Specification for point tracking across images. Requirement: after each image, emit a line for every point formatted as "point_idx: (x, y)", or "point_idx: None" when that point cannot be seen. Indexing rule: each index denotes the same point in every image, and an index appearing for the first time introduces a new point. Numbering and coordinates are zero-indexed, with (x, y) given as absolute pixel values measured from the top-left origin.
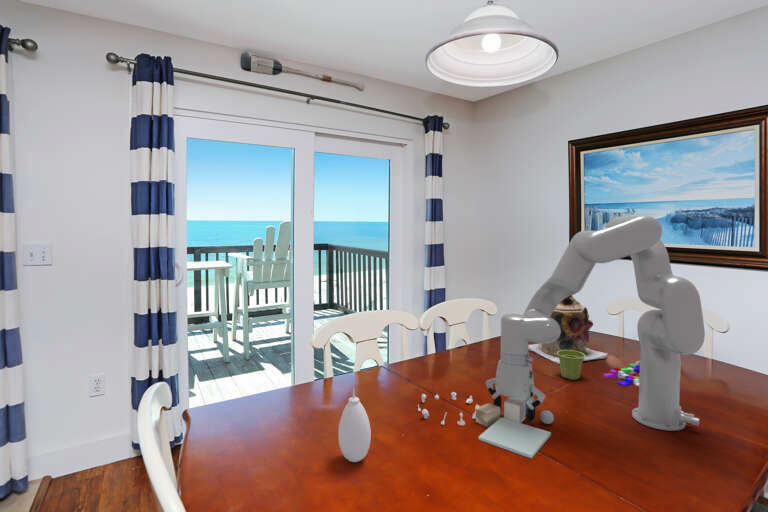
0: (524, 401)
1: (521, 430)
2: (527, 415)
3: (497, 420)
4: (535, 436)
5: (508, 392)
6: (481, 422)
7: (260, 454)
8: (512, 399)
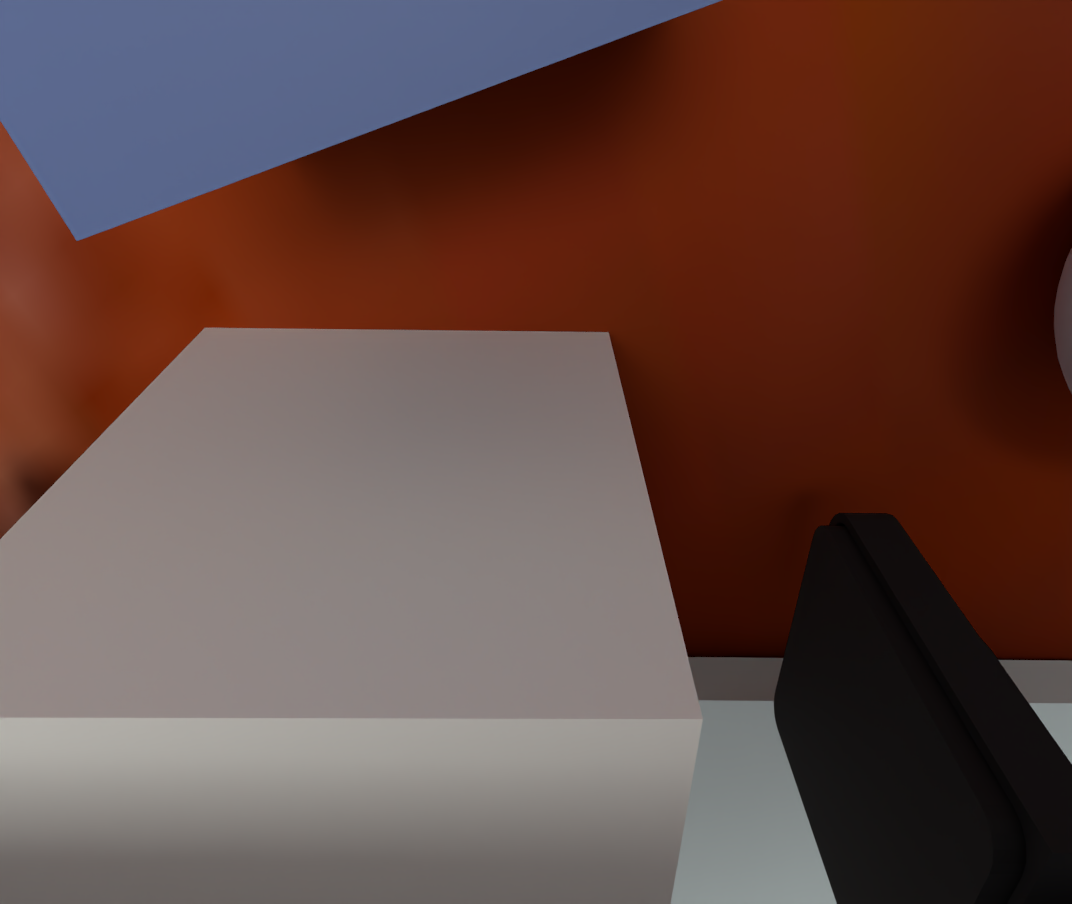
0: (678, 796)
1: (721, 873)
2: (827, 855)
3: None
4: None
5: None
6: None
7: None
8: (138, 888)
